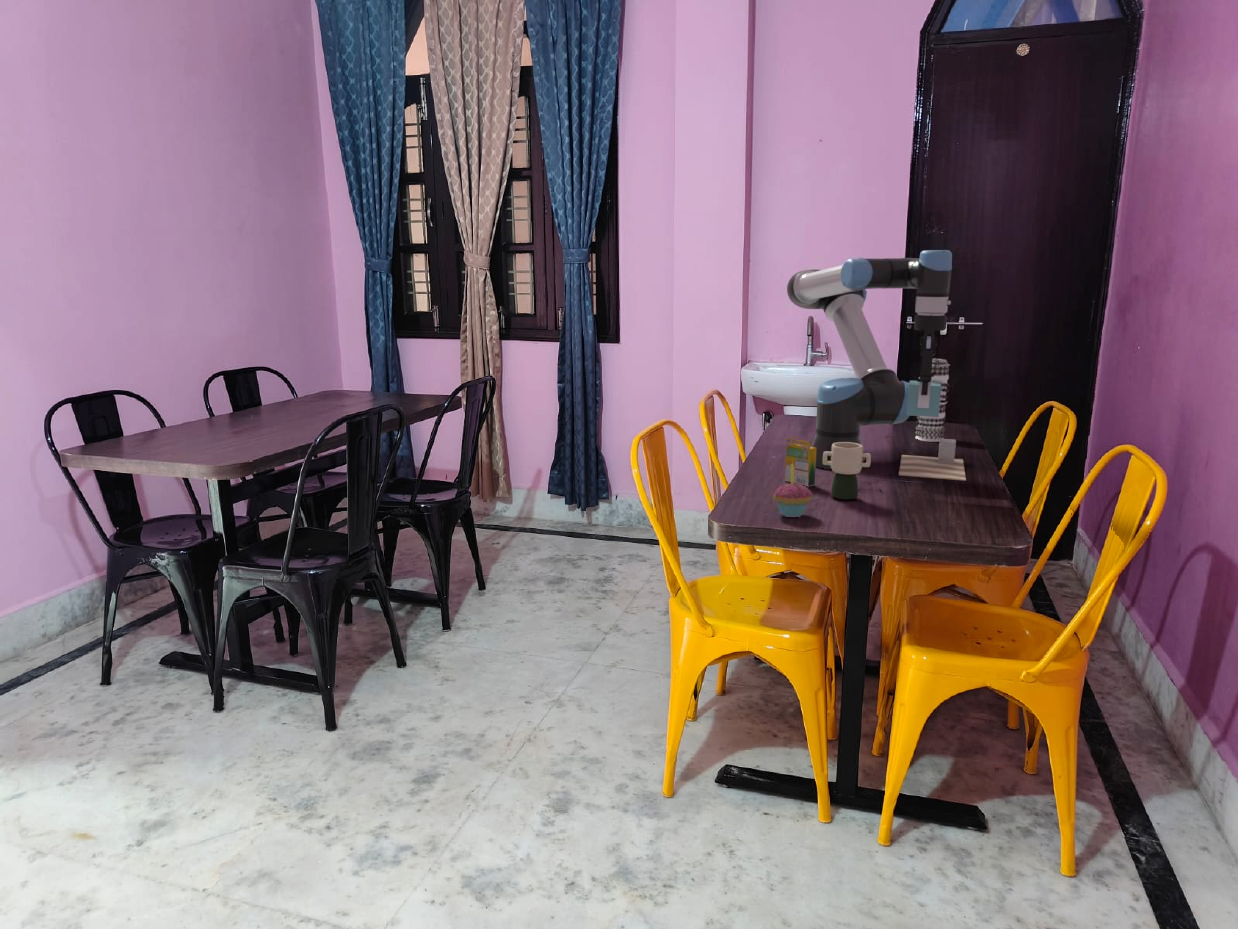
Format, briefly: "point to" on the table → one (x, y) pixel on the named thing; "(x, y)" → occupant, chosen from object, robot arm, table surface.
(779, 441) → the table surface
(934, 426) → the decorative candle
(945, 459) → the grey rectangular block
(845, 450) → the character mug
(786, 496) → the cupcake
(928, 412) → the teal cube
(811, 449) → the crayon box
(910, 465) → the base board
